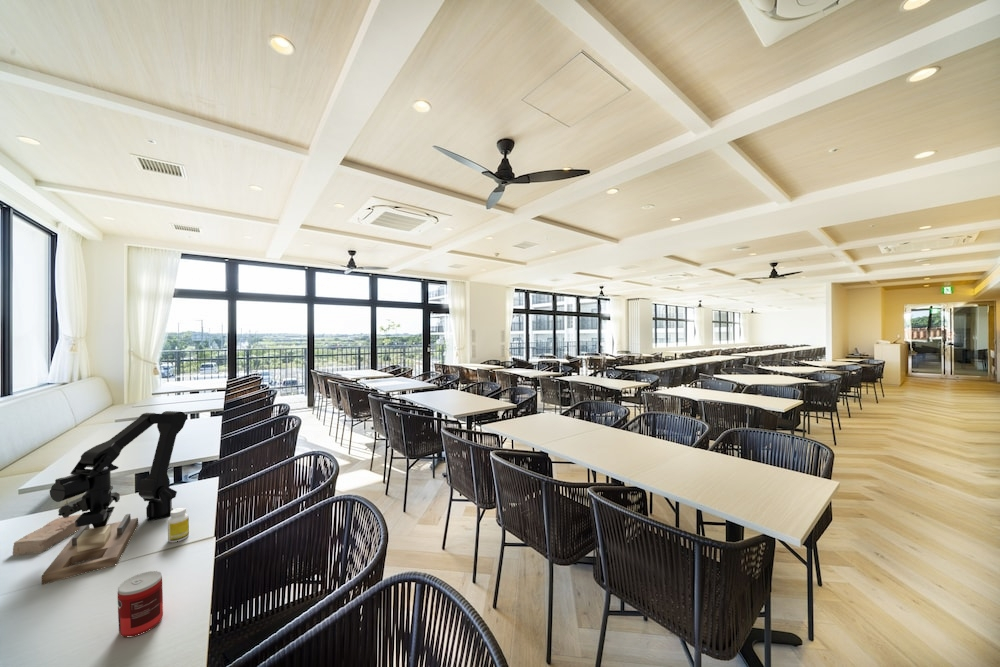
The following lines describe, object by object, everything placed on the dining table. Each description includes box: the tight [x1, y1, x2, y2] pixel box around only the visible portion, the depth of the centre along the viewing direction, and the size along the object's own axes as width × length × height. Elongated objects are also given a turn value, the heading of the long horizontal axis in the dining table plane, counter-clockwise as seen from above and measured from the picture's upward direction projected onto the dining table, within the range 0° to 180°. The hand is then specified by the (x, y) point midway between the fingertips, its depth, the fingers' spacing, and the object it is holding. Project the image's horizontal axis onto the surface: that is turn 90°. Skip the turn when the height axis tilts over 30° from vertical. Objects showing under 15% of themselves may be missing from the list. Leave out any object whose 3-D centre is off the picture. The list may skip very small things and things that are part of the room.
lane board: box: [41, 513, 139, 585], centre depth 120 cm, size 15×28×5 cm, turn 34°
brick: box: [12, 514, 82, 556], centre depth 126 cm, size 17×8×5 cm, turn 13°
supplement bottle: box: [167, 507, 190, 543], centre depth 127 cm, size 5×5×10 cm
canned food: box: [117, 570, 164, 638], centre depth 90 cm, size 8×8×11 cm
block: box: [77, 524, 111, 552], centre depth 119 cm, size 6×6×4 cm
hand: (99, 533), depth 123 cm, fingers closed
